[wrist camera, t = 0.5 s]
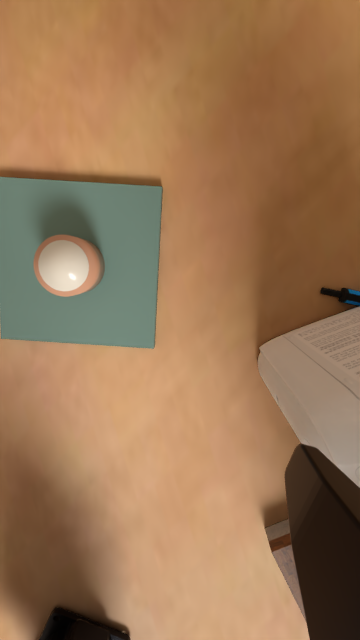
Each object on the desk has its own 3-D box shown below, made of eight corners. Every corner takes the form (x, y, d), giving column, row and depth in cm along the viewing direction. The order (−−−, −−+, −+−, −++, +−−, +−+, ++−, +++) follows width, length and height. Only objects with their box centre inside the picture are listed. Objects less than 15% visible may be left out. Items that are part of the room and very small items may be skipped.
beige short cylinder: (92, 301, 21) (80, 306, 19) (43, 279, 21) (24, 281, 19) (113, 252, 21) (103, 250, 18) (62, 228, 20) (45, 223, 18)
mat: (154, 346, 22) (153, 348, 22) (5, 336, 22) (0, 338, 22) (162, 188, 21) (161, 186, 20) (1, 179, 21) (-4, 176, 20)
